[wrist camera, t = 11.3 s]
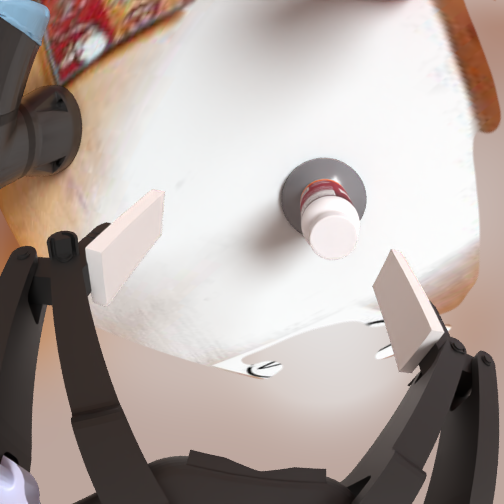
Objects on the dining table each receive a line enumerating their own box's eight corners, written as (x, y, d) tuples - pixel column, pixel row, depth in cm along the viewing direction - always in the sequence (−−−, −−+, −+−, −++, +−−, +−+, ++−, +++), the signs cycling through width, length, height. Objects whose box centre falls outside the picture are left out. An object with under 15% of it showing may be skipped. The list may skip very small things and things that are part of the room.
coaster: (273, 226, 40) (272, 228, 39) (293, 147, 34) (293, 148, 34) (349, 246, 39) (350, 248, 39) (376, 172, 34) (377, 173, 33)
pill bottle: (353, 215, 37) (371, 258, 27) (308, 228, 38) (312, 275, 29) (340, 170, 34) (358, 200, 25) (293, 185, 36) (292, 219, 26)
